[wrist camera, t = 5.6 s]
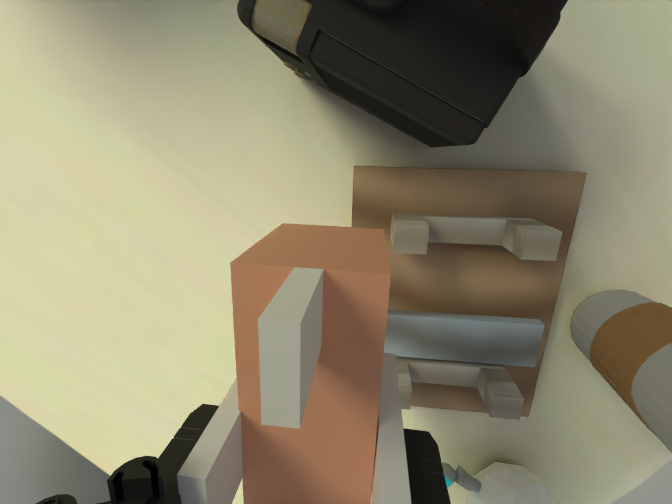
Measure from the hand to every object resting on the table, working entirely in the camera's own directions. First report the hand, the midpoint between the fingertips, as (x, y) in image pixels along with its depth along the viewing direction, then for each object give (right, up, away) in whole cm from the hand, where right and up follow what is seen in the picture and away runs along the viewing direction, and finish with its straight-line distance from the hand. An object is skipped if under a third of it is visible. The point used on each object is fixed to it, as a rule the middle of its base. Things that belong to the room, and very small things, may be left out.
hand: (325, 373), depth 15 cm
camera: (+5, +21, +10) cm, 24 cm away
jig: (+10, +1, +15) cm, 18 cm away
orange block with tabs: (0, -1, +2) cm, 2 cm away
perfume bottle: (+16, -17, +20) cm, 31 cm away
